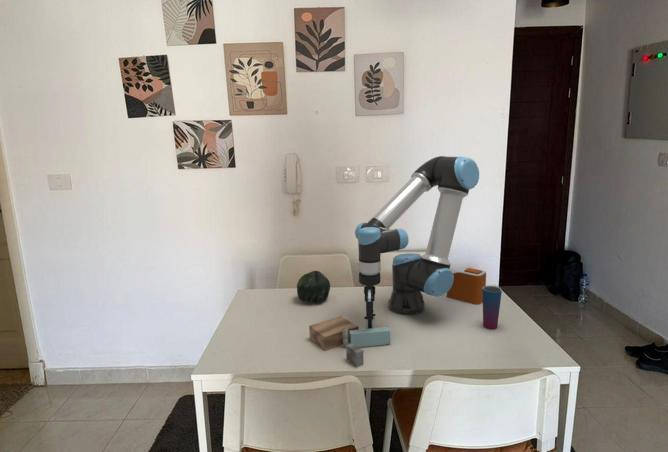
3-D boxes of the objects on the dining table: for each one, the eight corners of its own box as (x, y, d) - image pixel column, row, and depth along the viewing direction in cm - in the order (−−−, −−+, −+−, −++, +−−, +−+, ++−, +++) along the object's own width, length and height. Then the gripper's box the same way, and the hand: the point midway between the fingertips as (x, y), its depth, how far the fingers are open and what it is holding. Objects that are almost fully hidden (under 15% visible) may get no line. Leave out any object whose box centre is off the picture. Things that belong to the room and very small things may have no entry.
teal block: (351, 347, 150) (350, 334, 148) (349, 343, 152) (349, 330, 151) (390, 344, 151) (390, 330, 150) (388, 340, 154) (388, 327, 153)
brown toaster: (486, 299, 189) (488, 269, 186) (478, 305, 183) (479, 274, 180) (455, 291, 199) (456, 263, 196) (446, 297, 193) (447, 268, 190)
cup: (501, 331, 159) (503, 292, 156) (481, 329, 160) (483, 291, 157) (498, 323, 166) (500, 286, 162) (479, 322, 167) (481, 285, 164)
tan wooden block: (309, 338, 158) (309, 320, 156) (341, 328, 165) (341, 311, 164) (350, 369, 136) (350, 349, 135) (385, 356, 144) (385, 336, 142)
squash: (296, 282, 202) (296, 265, 190) (328, 281, 203) (330, 264, 191) (297, 310, 193) (297, 294, 181) (330, 309, 195) (333, 293, 183)
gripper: (359, 266, 157) (360, 326, 162) (358, 277, 145) (358, 342, 150) (380, 266, 157) (380, 326, 162) (380, 278, 144) (380, 343, 149)
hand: (370, 334), depth 156 cm, fingers closed
